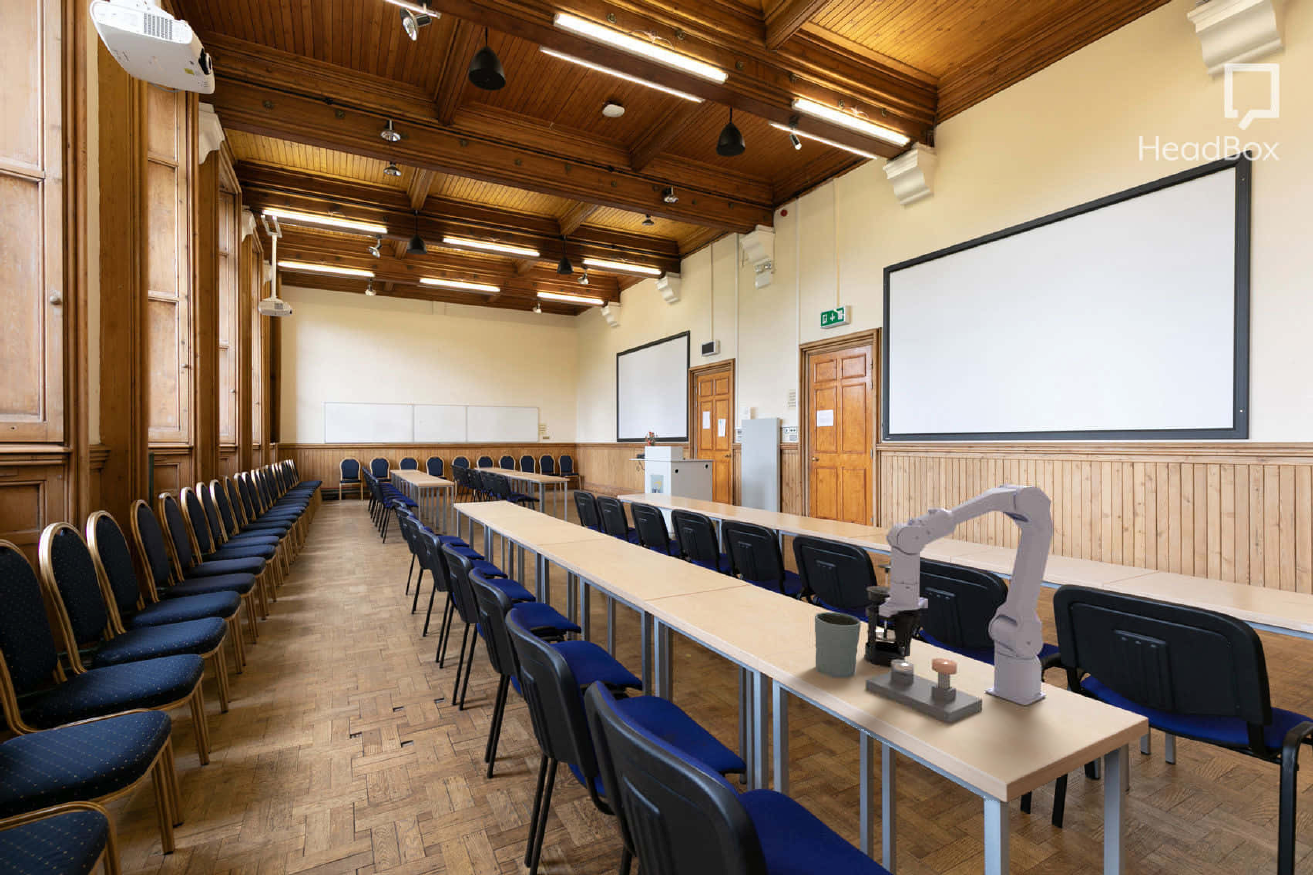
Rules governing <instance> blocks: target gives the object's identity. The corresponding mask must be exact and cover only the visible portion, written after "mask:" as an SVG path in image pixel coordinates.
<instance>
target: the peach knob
mask: <svg viewBox="0 0 1313 875" xmlns="http://www.w3.org/2000/svg"><path fill="white" fill-rule="evenodd" d="M931 670H933V671H934V672H936V673H937V683H938V687H939V688H941V689H944V690H948V689H950V686H951V675H956V674H957V673H958V671H957V670H958V664H957V662H955V661H953V660H951V659H948V658H942V657H935V658H932V659H931Z"/></svg>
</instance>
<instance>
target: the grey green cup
mask: <svg viewBox="0 0 1313 875" xmlns="http://www.w3.org/2000/svg"><path fill="white" fill-rule="evenodd" d="M861 625H862V621H861V620H860V619H859V618H857V617H856V616H853V615H850V614H846V613H843V612H842V613H841V612H835V611H833V612H832V611H828V612H827V611H824V612H818V613H816V614H815V615H814V632H815V649H816V650H815V669H816V671H817V672H819V674H821V675H824V676H827V675H828V677H830V676H831V677H830V678H837V679H838V678H839V679H847V678H851V676H852V677H854V676H855V673H856V667H857V653H858V645H859V639H860V633H861ZM853 675H854V676H853Z"/></svg>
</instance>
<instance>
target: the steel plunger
mask: <svg viewBox="0 0 1313 875" xmlns="http://www.w3.org/2000/svg"><path fill="white" fill-rule="evenodd" d="M890 670H891V671H893V672H895V673H897V674H901V675H912V674H914V675H915V664H914V663H913V662H911V661H908V660H906V659H905V660H892V661H891V668H890Z"/></svg>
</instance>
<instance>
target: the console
mask: <svg viewBox="0 0 1313 875" xmlns="http://www.w3.org/2000/svg"><path fill="white" fill-rule="evenodd" d="M865 690H866V691H869V692H871V693H873V694H876V695H879V696H881V697H883V698H886V699H888V700H890V701H892V702H895V703H897V704H900V705H902V706H904V707H908V708H910V709H912V710H914V711H917V712H920V713H922V714H924V715H926V716H929V717H931V718H934V719H936V720H938V721H941V722H943V723H946V724H948V725H949V724H952V723H954V722H957V721H959V720H961V719H964V718H966V717H968V716H970V715H972V714H975V713H977V712H980V711H982V710H983V699H982V698H980V697H977V696H975V695H972V694H968V693H967V692H963V691H961V690H958V689H957V687H953V686H951V685H950V689H948V690H944V689H941V688H939V687H938V682H936V681H933V680H930V679H928V678H925V677H922V676H919V675H917V674H915V673H914V674H912V675H901V674H897V673H895V672H893V671H892V670H891V671H890V672H886V673H883V674H880V675H877V676H873V677H870V678H868V679H865Z"/></svg>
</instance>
